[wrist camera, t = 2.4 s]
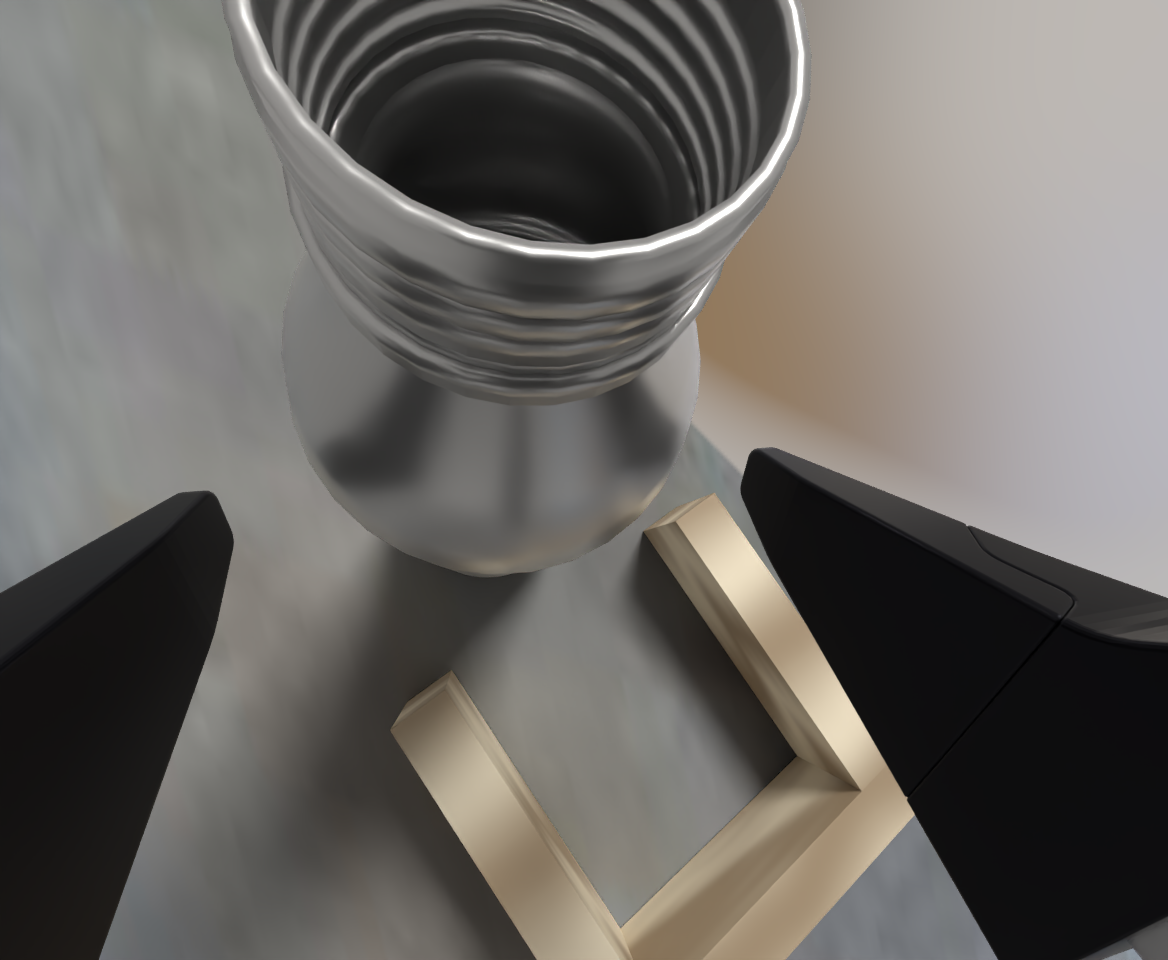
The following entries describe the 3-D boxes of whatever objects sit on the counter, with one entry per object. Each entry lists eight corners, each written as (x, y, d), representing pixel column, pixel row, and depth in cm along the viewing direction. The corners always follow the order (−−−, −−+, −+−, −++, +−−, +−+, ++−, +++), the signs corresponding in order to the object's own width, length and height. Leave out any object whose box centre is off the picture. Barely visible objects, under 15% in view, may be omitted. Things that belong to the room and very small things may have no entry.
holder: (853, 763, 23) (927, 799, 19) (608, 1015, 19) (640, 1121, 16) (676, 507, 24) (714, 492, 20) (407, 702, 20) (389, 730, 16)
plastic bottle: (565, 431, 24) (945, -235, 4) (559, 582, 22) (1072, 583, 3) (419, 418, 22) (48, -583, 3) (402, 576, 21) (-419, 520, 2)
